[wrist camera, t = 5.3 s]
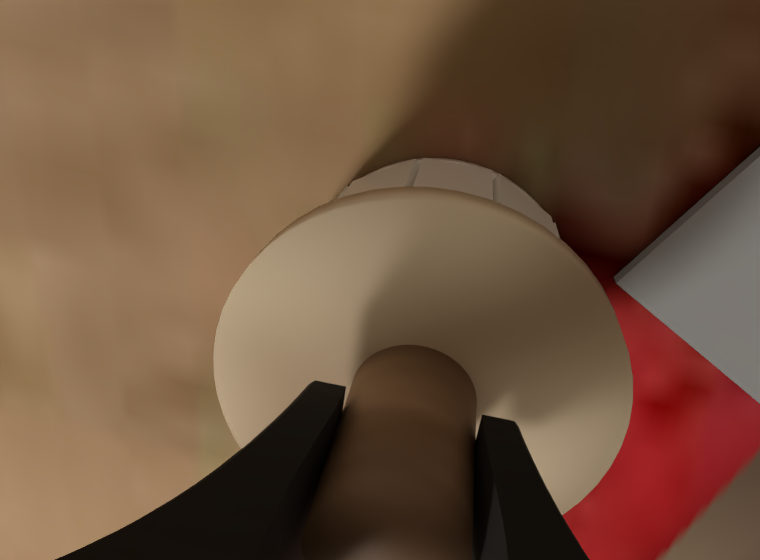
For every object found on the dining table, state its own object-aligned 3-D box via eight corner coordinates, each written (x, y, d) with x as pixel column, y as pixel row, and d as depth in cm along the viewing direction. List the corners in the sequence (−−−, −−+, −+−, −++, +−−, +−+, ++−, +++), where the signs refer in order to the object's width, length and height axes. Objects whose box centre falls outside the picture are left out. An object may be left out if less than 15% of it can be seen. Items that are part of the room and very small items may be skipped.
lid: (718, 379, 13) (831, 583, 9) (433, 574, 17) (413, 785, 12) (392, 89, 11) (334, 163, 7) (158, 374, 15) (28, 535, 11)
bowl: (626, 276, 18) (662, 352, 14) (448, 434, 21) (440, 529, 17) (415, 98, 16) (395, 131, 13) (260, 293, 20) (209, 364, 16)
